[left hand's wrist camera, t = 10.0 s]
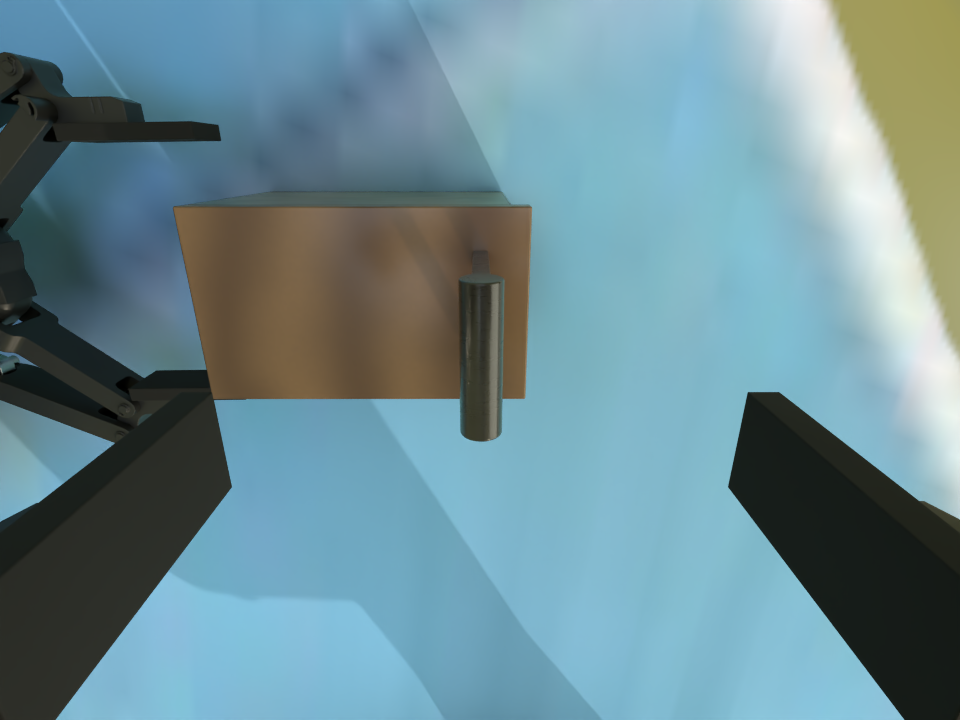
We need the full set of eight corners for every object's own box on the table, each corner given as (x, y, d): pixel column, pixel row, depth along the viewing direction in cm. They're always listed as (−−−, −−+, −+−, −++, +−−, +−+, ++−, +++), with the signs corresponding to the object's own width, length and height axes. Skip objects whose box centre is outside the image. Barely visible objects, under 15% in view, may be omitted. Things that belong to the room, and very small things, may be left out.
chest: (502, 191, 33) (511, 204, 23) (500, 330, 36) (508, 390, 27) (269, 191, 33) (185, 204, 23) (288, 330, 36) (222, 390, 27)
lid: (530, 204, 23) (554, 226, 16) (523, 390, 27) (541, 483, 19) (184, 204, 23) (40, 226, 16) (221, 390, 27) (118, 484, 19)
